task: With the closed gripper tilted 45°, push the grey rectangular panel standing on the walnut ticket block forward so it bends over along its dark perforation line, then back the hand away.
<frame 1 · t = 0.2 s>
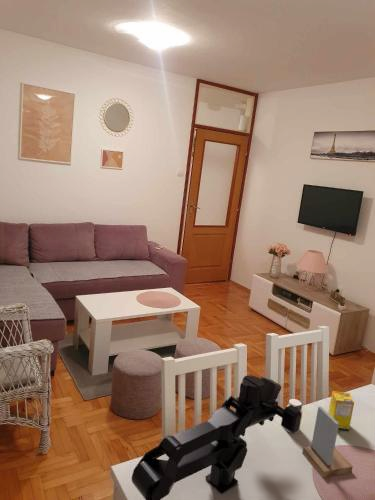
hand: (288, 399, 119), 17 cm above the table, tool horizontal, fingers open, 9 cm apart
supplement box: (337, 425, 136), on the table
supplement bottle: (290, 428, 132), on the table
ticket block: (326, 462, 117), on the table
grey rectangular panel: (324, 436, 115), point 9 cm above the table, hinge at 0.0°
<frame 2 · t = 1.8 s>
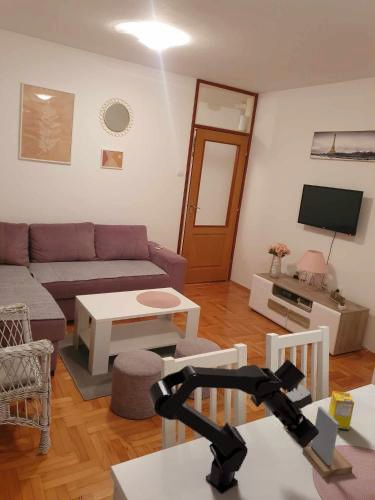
hand: (304, 432, 112), 12 cm above the table, tool tilted 45°, fingers closed
nothing on the table moved.
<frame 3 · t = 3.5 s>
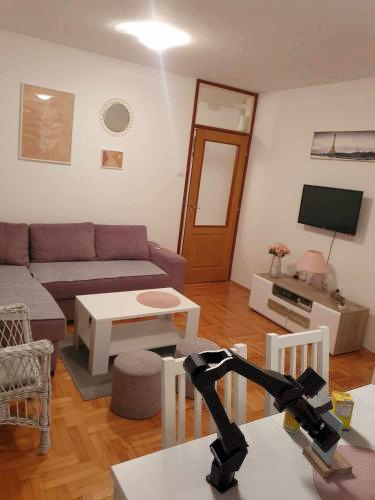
hand: (324, 437, 115), 9 cm above the table, tool tilted 45°, fingers closed, pressing on grey rectangular panel
grey rectangular panel: (326, 435, 115), point 9 cm above the table, hinge at 6.7°, touching gripper
everything else where it was.
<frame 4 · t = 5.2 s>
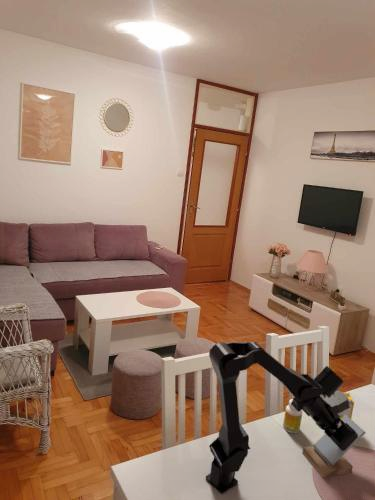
hand: (340, 435, 117), 9 cm above the table, tool tilted 45°, fingers closed
grey rectangular panel: (338, 439, 117), point 7 cm above the table, hinge at 46.8°
everything else where it was.
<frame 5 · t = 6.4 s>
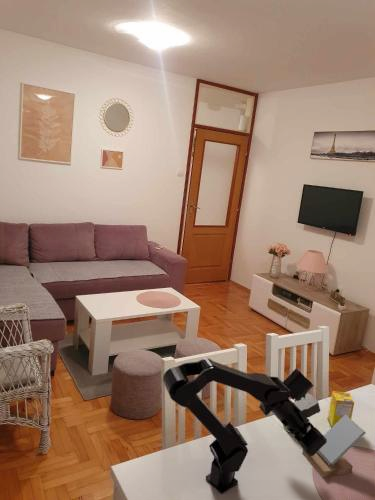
hand: (311, 440, 113), 9 cm above the table, tool tilted 45°, fingers closed
nothing on the table moved.
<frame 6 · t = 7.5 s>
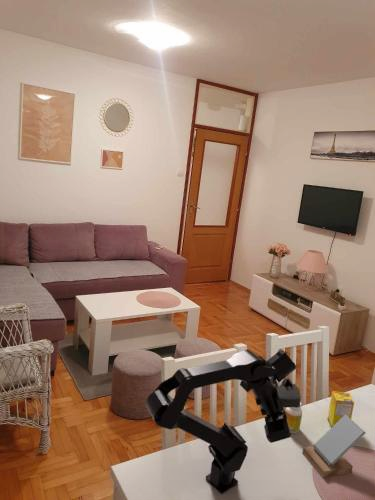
hand: (282, 427, 111), 12 cm above the table, tool tilted 35°, fingers closed
nothing on the table moved.
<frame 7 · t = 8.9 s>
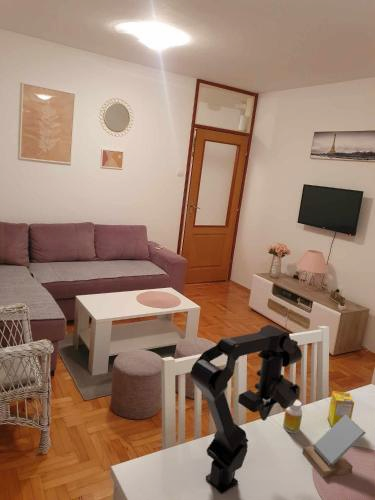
hand: (263, 419, 113), 13 cm above the table, tool pointing down, fingers closed
nothing on the table moved.
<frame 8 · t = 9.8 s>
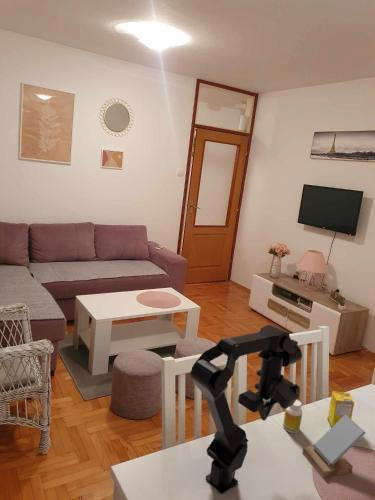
hand: (263, 419, 113), 13 cm above the table, tool pointing down, fingers closed
nothing on the table moved.
at the end: grey rectangular panel at +47° (first picture: +0°) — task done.
